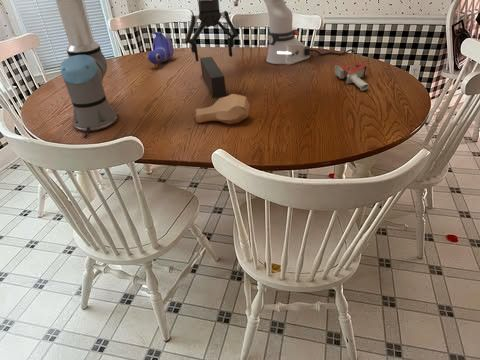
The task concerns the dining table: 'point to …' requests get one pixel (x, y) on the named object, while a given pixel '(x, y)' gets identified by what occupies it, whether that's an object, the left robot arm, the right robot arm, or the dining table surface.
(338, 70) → the tape dispenser
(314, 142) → the dining table surface
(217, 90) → the bar
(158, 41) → the toy
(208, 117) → the squash
